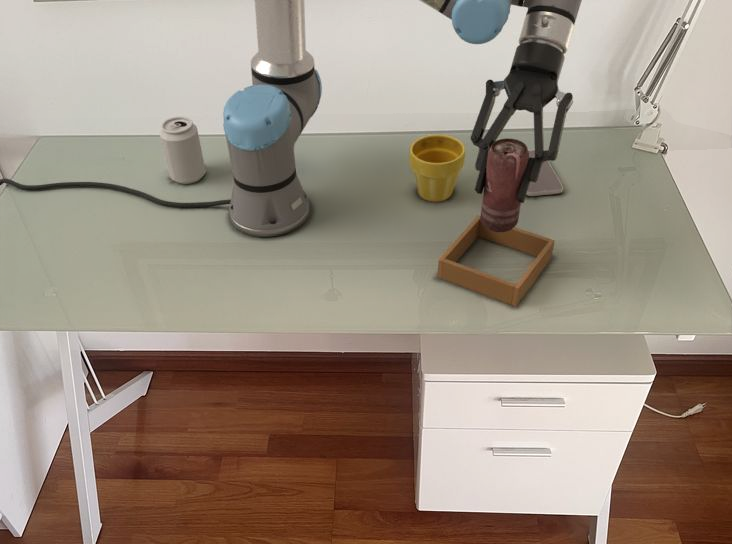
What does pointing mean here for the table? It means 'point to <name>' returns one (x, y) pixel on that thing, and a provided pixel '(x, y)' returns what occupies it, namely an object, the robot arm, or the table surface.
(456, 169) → the flower pot
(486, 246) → the table surface
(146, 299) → the table surface
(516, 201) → the can
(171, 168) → the can
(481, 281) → the wooden square frame
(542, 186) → the smartphone
